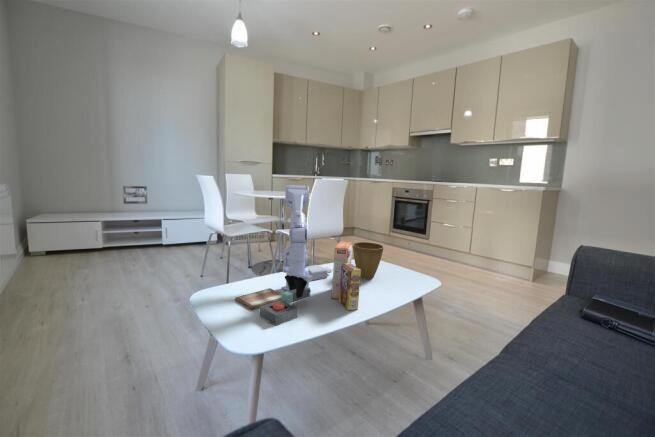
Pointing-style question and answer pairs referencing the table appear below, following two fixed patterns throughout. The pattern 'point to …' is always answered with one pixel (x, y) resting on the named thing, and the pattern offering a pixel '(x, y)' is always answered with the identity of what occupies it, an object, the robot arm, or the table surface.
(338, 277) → the cracker box
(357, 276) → the candy box
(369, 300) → the table surface
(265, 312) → the button housing
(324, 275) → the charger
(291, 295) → the marker
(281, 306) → the button
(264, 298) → the wooden picture frame
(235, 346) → the table surface
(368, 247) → the plant pot
